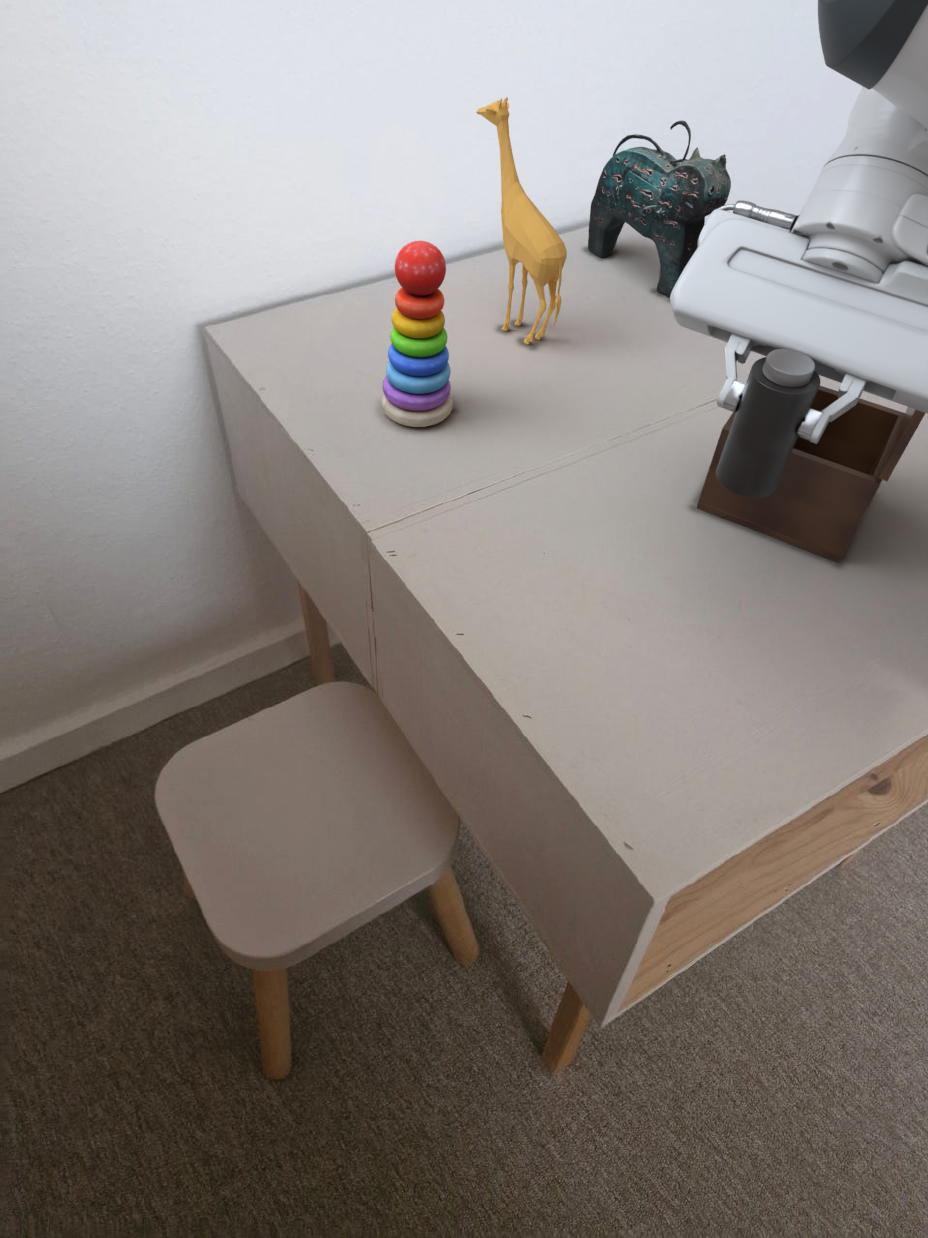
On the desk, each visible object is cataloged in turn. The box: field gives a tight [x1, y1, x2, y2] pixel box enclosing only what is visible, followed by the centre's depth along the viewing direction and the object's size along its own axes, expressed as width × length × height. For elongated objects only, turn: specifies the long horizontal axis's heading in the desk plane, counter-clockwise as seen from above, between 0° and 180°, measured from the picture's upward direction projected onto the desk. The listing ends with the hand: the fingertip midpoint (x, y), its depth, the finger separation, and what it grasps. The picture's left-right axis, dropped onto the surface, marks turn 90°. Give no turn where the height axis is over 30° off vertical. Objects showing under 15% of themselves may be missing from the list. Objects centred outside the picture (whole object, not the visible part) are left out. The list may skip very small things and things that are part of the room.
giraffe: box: [475, 96, 568, 346], centre depth 99 cm, size 16×4×25 cm, turn 39°
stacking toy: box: [380, 240, 454, 428], centre depth 88 cm, size 8×8×19 cm
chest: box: [696, 385, 905, 563], centre depth 84 cm, size 15×13×10 cm
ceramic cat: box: [587, 120, 732, 299], centre depth 112 cm, size 20×6×20 cm, turn 37°
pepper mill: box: [716, 349, 821, 498], centre depth 60 cm, size 5×5×10 cm
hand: (766, 423), depth 59 cm, fingers closed on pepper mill, 4 cm apart
